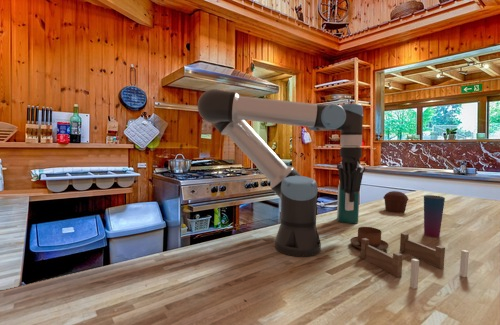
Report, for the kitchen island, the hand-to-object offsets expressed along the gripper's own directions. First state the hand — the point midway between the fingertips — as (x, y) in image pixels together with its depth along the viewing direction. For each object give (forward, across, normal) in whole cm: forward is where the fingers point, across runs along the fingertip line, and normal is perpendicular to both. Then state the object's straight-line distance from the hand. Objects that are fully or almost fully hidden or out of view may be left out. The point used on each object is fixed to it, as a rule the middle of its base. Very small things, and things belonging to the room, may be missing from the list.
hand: (349, 209), depth 107 cm
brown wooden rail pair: (+10, -24, 0) cm, 26 cm away
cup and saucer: (+11, -11, 0) cm, 15 cm away
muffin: (+11, +25, -50) cm, 57 cm away
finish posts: (+10, -36, 0) cm, 37 cm away
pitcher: (+11, +18, -14) cm, 25 cm away
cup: (+11, -9, -32) cm, 35 cm away
